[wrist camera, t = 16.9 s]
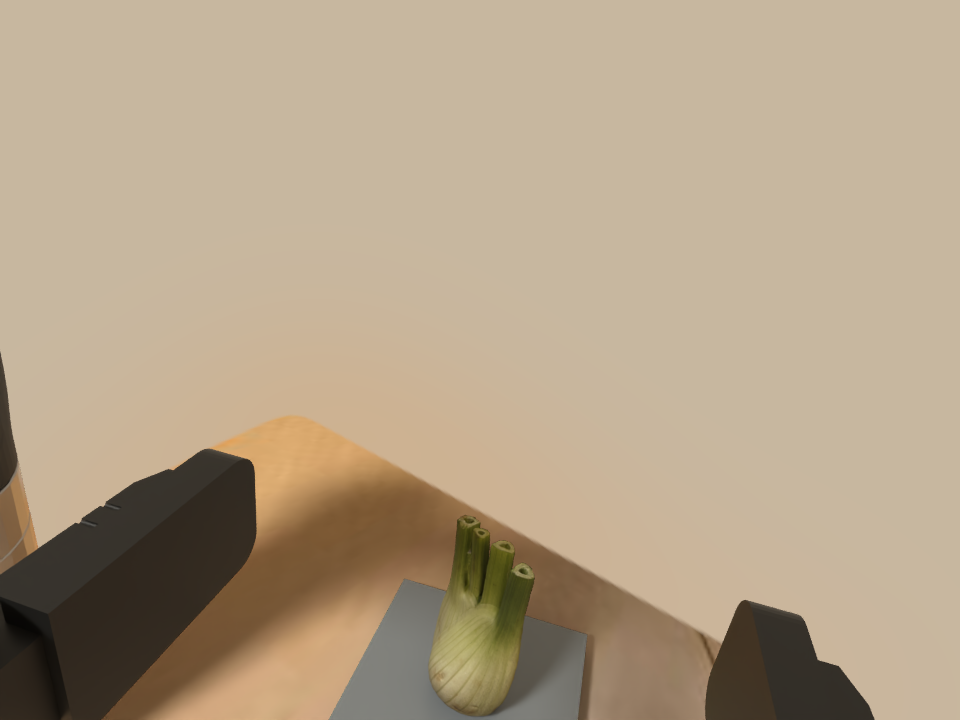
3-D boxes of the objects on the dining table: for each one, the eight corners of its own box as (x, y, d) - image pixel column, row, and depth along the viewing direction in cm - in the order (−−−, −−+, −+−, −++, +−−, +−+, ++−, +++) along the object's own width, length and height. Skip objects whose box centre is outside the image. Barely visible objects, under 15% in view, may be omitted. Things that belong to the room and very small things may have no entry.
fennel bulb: (515, 727, 34) (550, 573, 30) (434, 740, 33) (457, 581, 28) (490, 645, 40) (517, 502, 35) (419, 653, 38) (436, 506, 34)
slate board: (308, 774, 32) (308, 757, 31) (403, 593, 45) (404, 578, 44) (557, 871, 29) (562, 854, 29) (583, 649, 42) (587, 634, 41)
